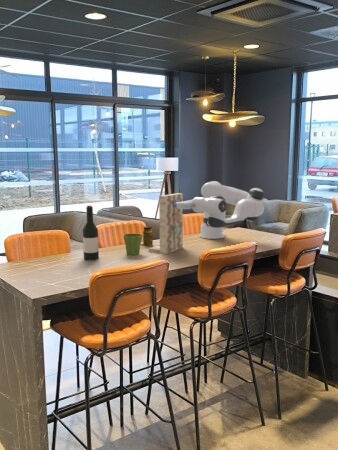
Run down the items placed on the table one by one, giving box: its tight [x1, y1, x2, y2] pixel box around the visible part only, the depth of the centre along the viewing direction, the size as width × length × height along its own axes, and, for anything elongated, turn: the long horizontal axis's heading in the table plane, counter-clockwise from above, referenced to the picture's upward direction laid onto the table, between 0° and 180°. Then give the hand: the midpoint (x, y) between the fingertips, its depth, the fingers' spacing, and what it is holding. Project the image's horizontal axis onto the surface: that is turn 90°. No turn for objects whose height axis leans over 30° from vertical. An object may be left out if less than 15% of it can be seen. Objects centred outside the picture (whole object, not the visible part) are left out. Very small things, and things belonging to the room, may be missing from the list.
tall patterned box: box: [148, 192, 184, 255], centre depth 265 cm, size 20×12×34 cm, turn 148°
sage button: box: [173, 226, 180, 234], centre depth 263 cm, size 4×6×4 cm
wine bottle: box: [82, 205, 100, 261], centre depth 244 cm, size 8×8×30 cm
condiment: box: [140, 225, 155, 248], centre depth 281 cm, size 7×8×12 cm
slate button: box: [173, 200, 180, 207], centre depth 261 cm, size 4×6×4 cm
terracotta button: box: [173, 213, 180, 220], centre depth 262 cm, size 4×6×4 cm
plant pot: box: [122, 232, 143, 256], centre depth 257 cm, size 12×12×11 cm
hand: (177, 203), depth 259 cm, fingers closed, pressing on slate button
